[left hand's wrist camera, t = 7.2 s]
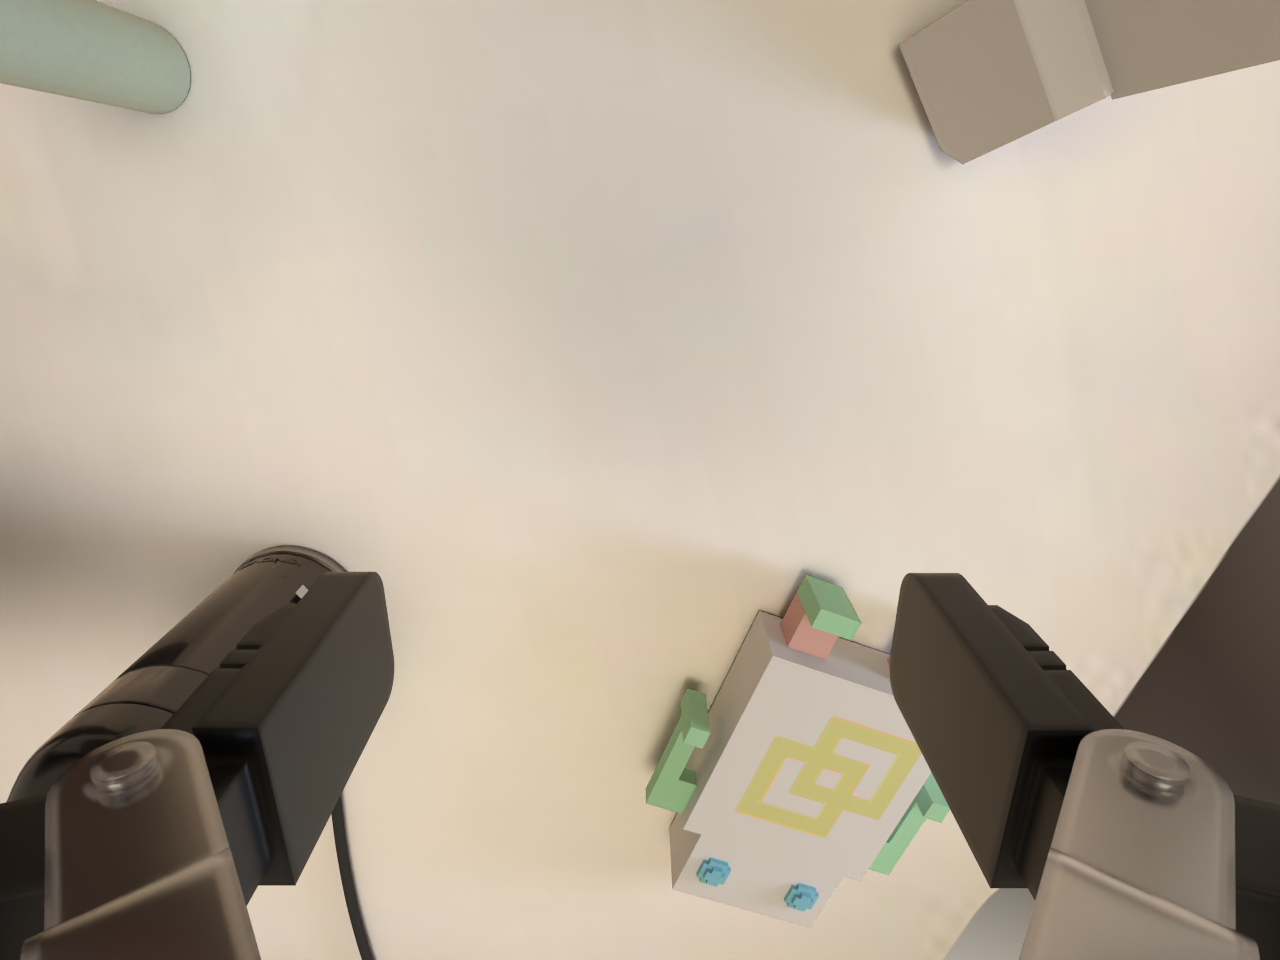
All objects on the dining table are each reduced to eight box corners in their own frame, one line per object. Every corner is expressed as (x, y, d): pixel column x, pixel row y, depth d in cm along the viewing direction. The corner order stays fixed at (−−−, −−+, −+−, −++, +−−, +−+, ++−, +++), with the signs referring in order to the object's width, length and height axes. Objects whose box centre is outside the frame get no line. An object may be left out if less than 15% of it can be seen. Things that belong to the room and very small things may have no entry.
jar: (118, 2, 40) (-283, -157, 22) (201, 49, 40) (-125, -71, 23) (97, 86, 41) (-296, -4, 24) (177, 130, 42) (-147, 72, 25)
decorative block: (862, 950, 56) (618, 882, 53) (841, 878, 62) (620, 814, 59) (1041, 689, 47) (761, 593, 45) (996, 635, 53) (746, 548, 51)
